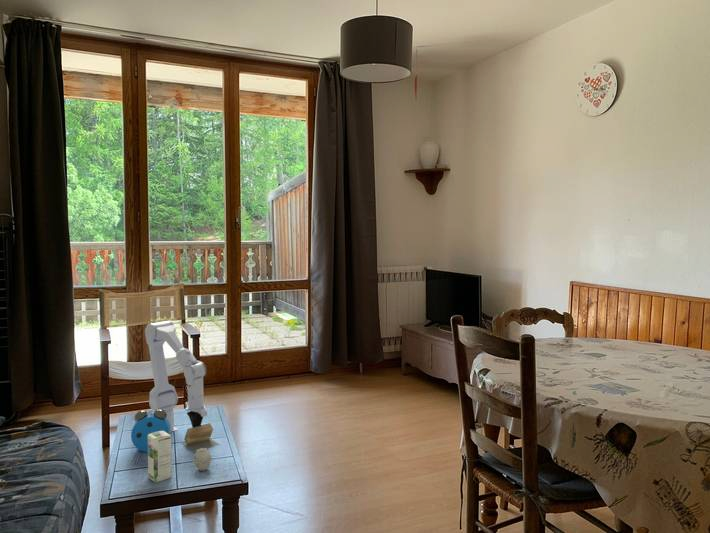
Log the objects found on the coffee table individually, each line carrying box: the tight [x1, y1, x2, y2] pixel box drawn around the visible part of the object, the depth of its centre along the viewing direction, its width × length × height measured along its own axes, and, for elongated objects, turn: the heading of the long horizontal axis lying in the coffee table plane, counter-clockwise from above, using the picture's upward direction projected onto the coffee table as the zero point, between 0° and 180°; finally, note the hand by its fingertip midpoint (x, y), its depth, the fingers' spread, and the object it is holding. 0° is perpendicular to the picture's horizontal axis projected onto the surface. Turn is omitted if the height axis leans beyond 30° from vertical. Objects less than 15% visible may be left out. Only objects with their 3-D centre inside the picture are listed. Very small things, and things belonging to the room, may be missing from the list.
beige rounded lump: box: [192, 448, 213, 472], centre depth 181 cm, size 6×7×7 cm
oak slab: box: [183, 422, 214, 446], centre depth 202 cm, size 3×9×6 cm
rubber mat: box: [180, 438, 220, 453], centre depth 202 cm, size 12×10×1 cm
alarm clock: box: [130, 409, 172, 453], centre depth 197 cm, size 13×6×15 cm, turn 102°
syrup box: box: [147, 431, 173, 483], centre depth 175 cm, size 6×6×14 cm
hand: (196, 430), depth 203 cm, fingers closed
